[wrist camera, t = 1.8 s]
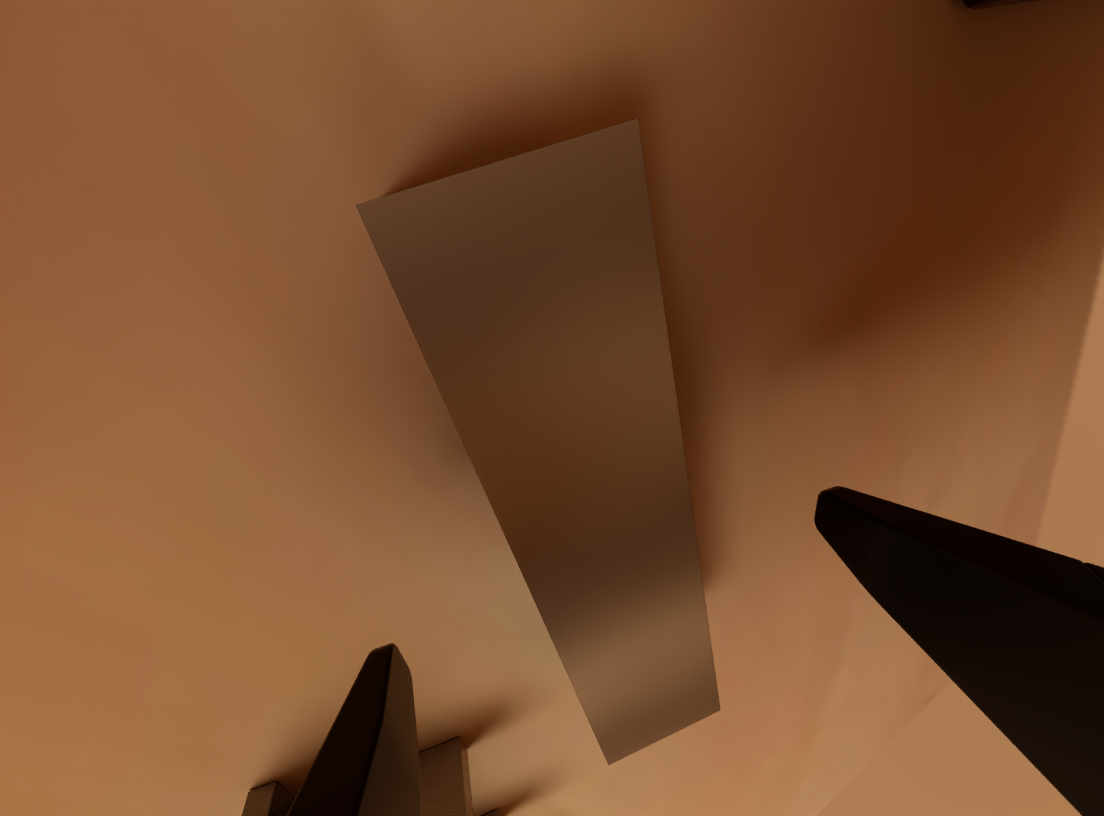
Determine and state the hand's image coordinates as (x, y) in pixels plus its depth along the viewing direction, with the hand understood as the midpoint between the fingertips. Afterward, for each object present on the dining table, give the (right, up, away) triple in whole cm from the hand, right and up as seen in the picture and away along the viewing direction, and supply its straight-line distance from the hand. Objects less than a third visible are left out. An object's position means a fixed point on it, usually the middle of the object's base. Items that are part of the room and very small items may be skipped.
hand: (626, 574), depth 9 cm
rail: (-1, +2, +3) cm, 4 cm away
